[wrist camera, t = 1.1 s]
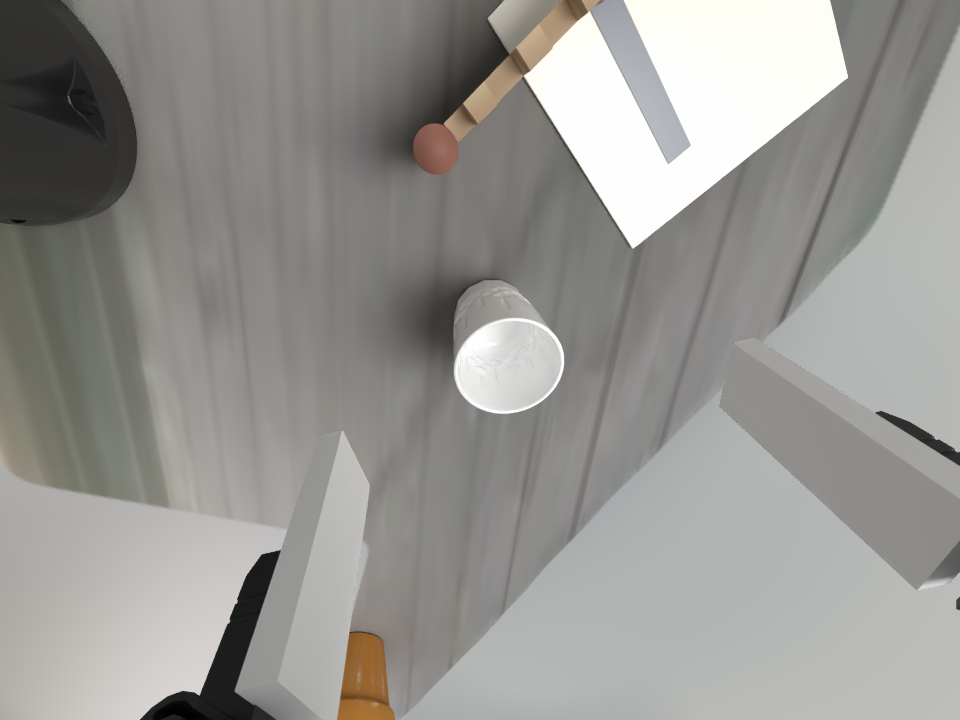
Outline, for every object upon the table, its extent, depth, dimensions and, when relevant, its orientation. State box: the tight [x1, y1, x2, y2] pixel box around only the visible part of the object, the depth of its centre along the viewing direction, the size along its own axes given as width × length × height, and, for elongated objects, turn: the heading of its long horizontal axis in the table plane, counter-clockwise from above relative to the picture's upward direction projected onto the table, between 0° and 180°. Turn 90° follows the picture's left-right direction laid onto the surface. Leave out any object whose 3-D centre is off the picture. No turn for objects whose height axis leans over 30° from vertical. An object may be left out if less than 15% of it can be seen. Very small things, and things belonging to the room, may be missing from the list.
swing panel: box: [413, 0, 600, 175], centre depth 23 cm, size 2×13×8 cm, turn 131°
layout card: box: [487, 0, 848, 248], centre depth 27 cm, size 20×19×1 cm
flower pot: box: [337, 632, 395, 720], centre depth 57 cm, size 14×14×13 cm
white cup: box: [453, 280, 564, 414], centre depth 31 cm, size 8×8×10 cm
